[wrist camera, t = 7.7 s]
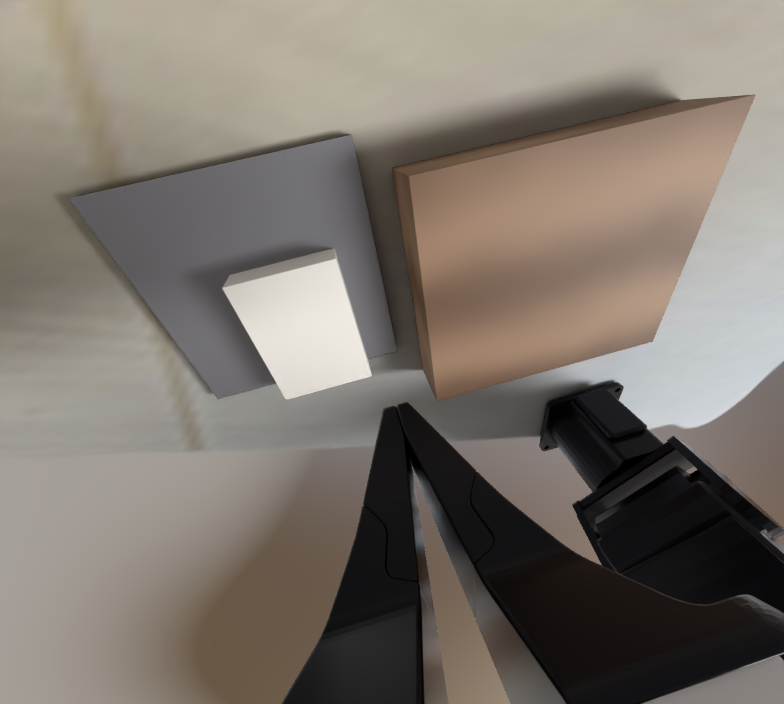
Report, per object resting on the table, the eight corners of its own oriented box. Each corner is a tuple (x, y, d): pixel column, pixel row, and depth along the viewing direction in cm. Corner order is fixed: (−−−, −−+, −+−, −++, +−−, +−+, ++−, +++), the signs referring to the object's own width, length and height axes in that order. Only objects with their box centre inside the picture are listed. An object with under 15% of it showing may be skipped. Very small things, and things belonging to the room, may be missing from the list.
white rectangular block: (285, 399, 17) (287, 382, 19) (371, 376, 18) (368, 360, 19) (222, 288, 13) (229, 274, 14) (336, 258, 13) (334, 248, 15)
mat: (395, 346, 19) (397, 351, 19) (219, 393, 19) (217, 399, 18) (350, 134, 13) (351, 134, 12) (76, 196, 12) (68, 198, 12)
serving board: (615, 317, 22) (652, 341, 19) (423, 370, 21) (437, 401, 19) (682, 99, 14) (755, 94, 12) (392, 168, 14) (408, 176, 11)
